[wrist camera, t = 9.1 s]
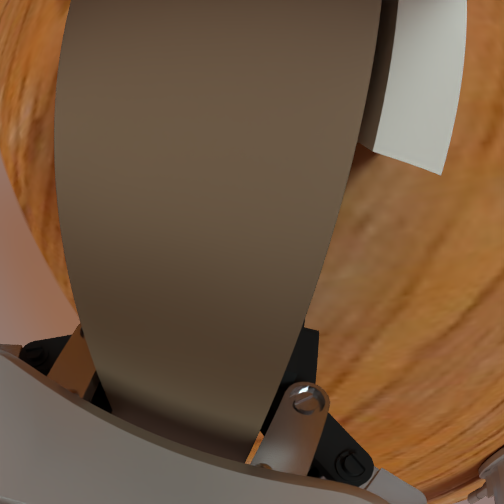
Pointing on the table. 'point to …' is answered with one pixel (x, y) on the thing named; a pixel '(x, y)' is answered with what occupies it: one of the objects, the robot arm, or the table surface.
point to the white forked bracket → (415, 81)
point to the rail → (203, 195)
